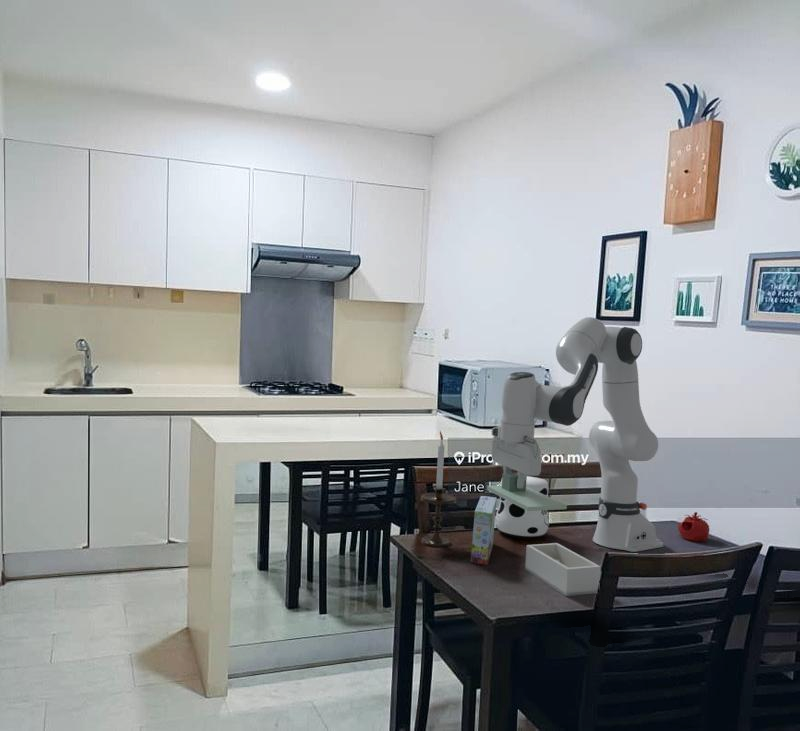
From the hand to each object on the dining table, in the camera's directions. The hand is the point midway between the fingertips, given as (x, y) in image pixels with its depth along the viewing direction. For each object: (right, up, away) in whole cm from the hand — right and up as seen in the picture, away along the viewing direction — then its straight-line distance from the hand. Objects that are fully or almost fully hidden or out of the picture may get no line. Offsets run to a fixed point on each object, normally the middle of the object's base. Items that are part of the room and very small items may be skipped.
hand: (514, 485), depth 185 cm
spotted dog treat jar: (+10, -24, +45) cm, 52 cm away
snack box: (-5, -25, +24) cm, 35 cm away
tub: (+13, -26, +3) cm, 29 cm away
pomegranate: (+69, -27, +51) cm, 90 cm away
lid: (+2, -3, -5) cm, 6 cm away
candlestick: (-19, -23, +31) cm, 43 cm away
